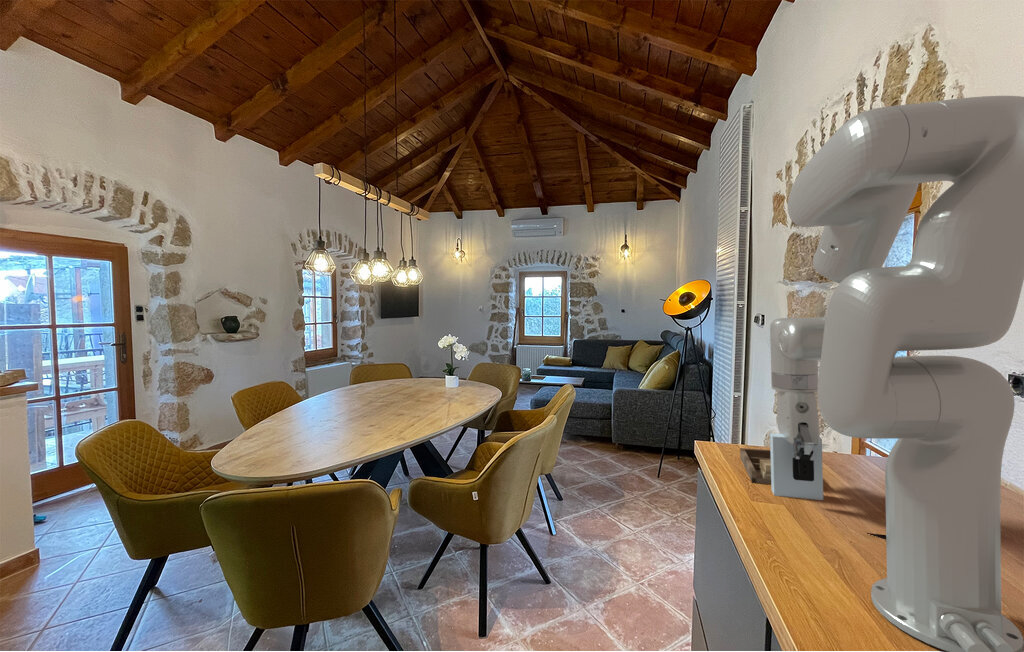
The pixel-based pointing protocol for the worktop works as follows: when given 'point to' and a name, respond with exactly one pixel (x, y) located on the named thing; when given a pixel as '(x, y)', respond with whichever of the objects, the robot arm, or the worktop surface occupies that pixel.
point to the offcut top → (765, 466)
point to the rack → (755, 463)
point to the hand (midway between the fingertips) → (796, 470)
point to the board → (784, 471)
